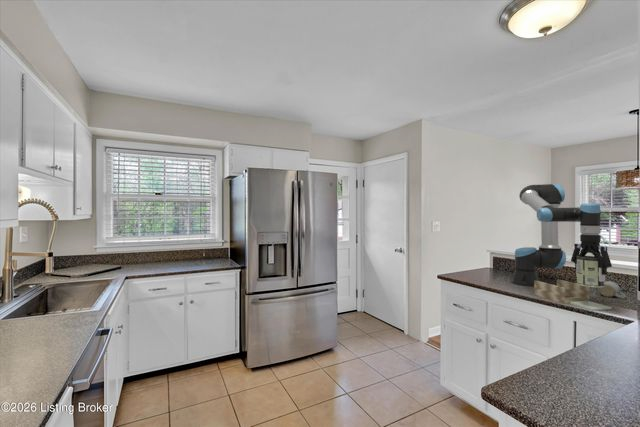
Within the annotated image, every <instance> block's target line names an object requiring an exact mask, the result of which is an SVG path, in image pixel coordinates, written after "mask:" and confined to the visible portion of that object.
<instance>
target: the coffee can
mask: <svg viewBox="0 0 640 427" xmlns="http://www.w3.org/2000/svg"><path fill="white" fill-rule="evenodd" d="M576 257H577V277H576V284H578V285H581V286H586V287H589V288H595V289H596V288H597V289H599V288H603V287H604V282H605V281H602V282H600V281H599V268H600V265H599V259H596V258H595V256H594V255H585V256H583V257H580V256H576ZM600 260H602V259H600Z"/></svg>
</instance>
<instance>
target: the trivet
mask: <svg viewBox="0 0 640 427" xmlns="http://www.w3.org/2000/svg"><path fill="white" fill-rule="evenodd" d="M569 304H571V305H574V306H577V307H580V308H584V309H587V310H590V311H602V310H604V311H605V310H613V307H612V306H607V305H605V304H601V303H597V302H593V301H590V300H589V301H577V302H570V303H569Z"/></svg>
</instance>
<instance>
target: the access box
mask: <svg viewBox="0 0 640 427" xmlns="http://www.w3.org/2000/svg"><path fill="white" fill-rule="evenodd" d="M533 287H534V288H533V289H534V290H533V293H534V295H535V296H537V297H541V298H544V299H547V300H551V301H554V302H557V303H560V304H565V305H566V304H570V302H577V301H590V287H586V286H581V285H578V284H577V282H571V281H567V280H563V279H559V278H558V279H556V285H555V284H551V283H547V282H543V281H540V280H539V281H534V286H533Z"/></svg>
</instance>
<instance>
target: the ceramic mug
mask: <svg viewBox="0 0 640 427" xmlns="http://www.w3.org/2000/svg"><path fill="white" fill-rule="evenodd" d="M598 291H599V293H600V294H601V295H602V296H604V297H607V298H613V297H617V298H619V299H623V300H624V299H626V298H627V295H626V294H625V293H623V292H622V291H621V287H620V286H619V285H618V283H616V282H614V281H610V280H609V281H608V280H607V281H606V280H605V281H604V287H603V288H598Z"/></svg>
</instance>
